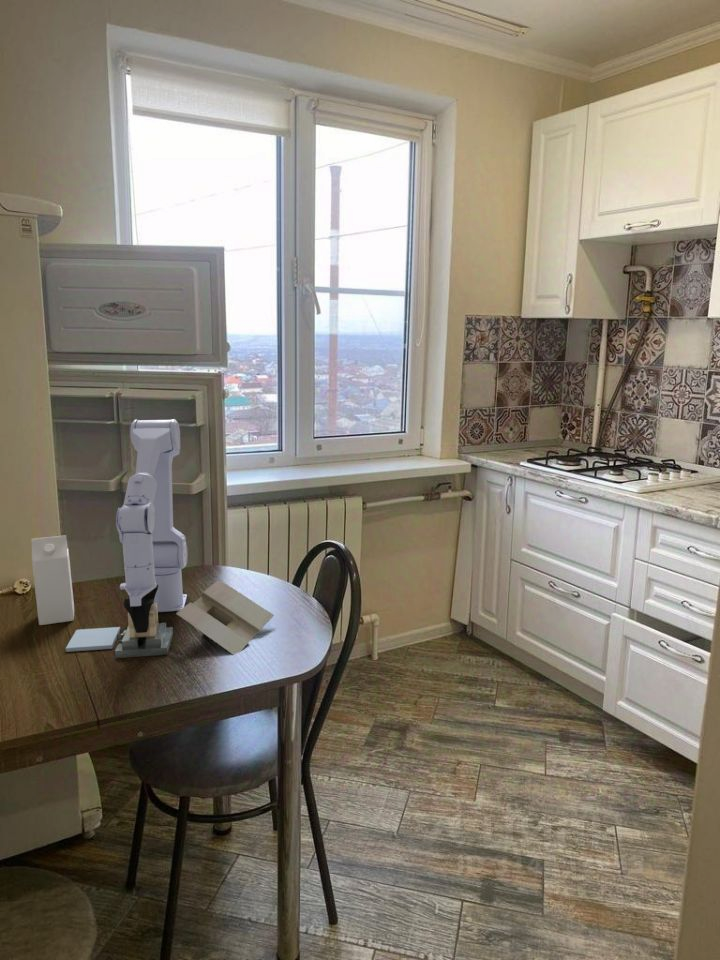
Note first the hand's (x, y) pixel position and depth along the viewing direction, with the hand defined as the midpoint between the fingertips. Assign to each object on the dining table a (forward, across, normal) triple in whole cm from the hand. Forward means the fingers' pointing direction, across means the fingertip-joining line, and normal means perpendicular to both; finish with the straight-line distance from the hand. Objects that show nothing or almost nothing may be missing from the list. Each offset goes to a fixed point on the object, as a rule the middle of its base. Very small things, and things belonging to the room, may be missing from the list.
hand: (144, 626), depth 144 cm
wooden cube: (+1, 0, 0) cm, 1 cm away
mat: (+4, -4, -11) cm, 12 cm away
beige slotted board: (+5, -2, +17) cm, 18 cm away
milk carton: (+4, -18, -22) cm, 29 cm away
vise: (+4, 0, 0) cm, 4 cm away
